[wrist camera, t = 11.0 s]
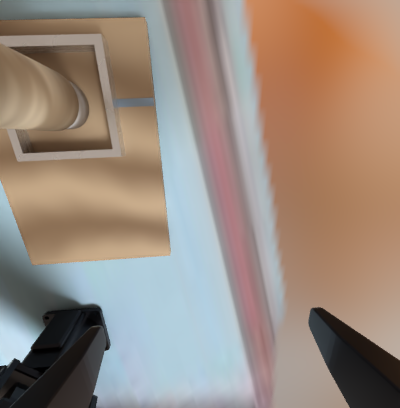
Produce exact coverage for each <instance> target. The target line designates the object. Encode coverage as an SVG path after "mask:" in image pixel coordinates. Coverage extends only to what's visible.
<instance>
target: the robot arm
mask: <svg viewBox="0 0 400 408" xmlns="http://www.w3.org/2000/svg"><path fill="white" fill-rule="evenodd" d="M96 312H97V313H96ZM42 318H43V321H44V323H45V326H46V328H45V329H44V330H43V332H42V333H41V334H40V336H39V337H38V338H37V340H36V341H35V342H34V344H33V345H32V346H31V351H30V352H29V353H28V355H27V356H26V357H25V359H24V360H23V362H22V363H20V361H19V360H17V359H15V358H14V359H13V360H12V362H11V363H10V364H9V365H8V366H6V365H4V366H0V408H96V403H97V396H95V395H93V393H94V389H95V386H96V382H97V378H98V374H99V370H100V366H101V363H102V359H103V355H104V351H106V350H109V348H110V345H111V344H110V340H109V336H108V333H107V329H106V325H105V321H104V318H103V314H102V310H101V309H100V308H88V309H76V310H64V311H51V312H46V313H45V314H44V315H43V317H42ZM309 327H310V330H311V332H312V334H313V336H314V339H315V341H316V343H317V345H318V347H319V350H320V352H321V354H322V356H323V359H324V361H325V363H326V365H327V367H328V369H329V371H330V373H331V375H332V376H333V378H334V380H335V381H336V384H337V385H338V387H339V389H340V391H341V393H342V394H343V396H344V398H345V399H346V402H347V403H348V405H349V407H350V408H400V360H398V359H397V358H395V357H394V356H392V355H391V354H389V353H388V352H386V351H385V350H383V349H382V348H380V347H379V346H378V345H376V344H375V343H373V342H371V341H370V340H369V339H367V338H366V337H364V336H363V335H361V334H360V333H358V332H357V331H355V330H354V329H352V328H351V327H349V326H348V325H347V324H345V323H344V322H342V321H341V320H339V319H338V318H336V317H335V316H333V315H331V314H330V313H329V312H327V311H326V310H324V309H323V308H320V307H317V308H312V309H311V311H310V316H309Z"/></svg>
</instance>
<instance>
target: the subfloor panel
mask: <svg viewBox="0 0 400 408" xmlns="http://www.w3.org/2000/svg"><path fill="white" fill-rule="evenodd" d="M68 34H102V35H103V37H104V38H105V39H106V40H107V41H108V46H109V53H110V59H111V65H112V71H113V78H114V84H115V90H116V96H117V104H118V109H119V115H120V121H121V128H122V134H123V140H124V146H125V153H126V155H125V156H122V157H102V158H82V159H61V160H41V161H21V162H18V161H17V159H16V156H15V153H14V150H13V147H12V144H11V141H10V138H9V135H8V132H7V129H2V128H0V180H1V183H2V185H3V188H4V191H5V193H6V196H7V199H8V201H9V204H10V207H11V209H12V212H13V215H14V217H15V220H16V223H17V225H18V228H19V231H20V233H21V236H22V239H23V241H24V244H25V247H26V249H27V252H28V255H29V257H30V260H31V263H32V265H42V264H56V263H70V262H84V261H98V260H112V259H126V258H140V257H154V256H169V255H170V253H171V249H170V239H169V230H168V220H167V211H166V201H165V192H164V182H163V172H162V163H161V153H160V144H159V134H158V125H157V115H156V105H155V96H154V86H153V77H152V67H151V58H150V48H149V39H148V29H147V22H146V19H145V17H140V18H88V19H36V20H0V36H23V35H68ZM23 55H25V56H27V57H29V58H31V59H33V60H35V61H37V62H39V63H40V64H42V65H44V66H46V67H48V68H50V69H52V70H54V71H56V72H58V73H60V74H61V75H62V76H64V77H65V78H66V79H67V80H68V81H70V82H72V83H74V84H75V85H77V86H78V87H79V88H80V89H81V90H82V91H83V93H84V94H85V96H86V98H87V100H88V103H89V116H88V119H87V121H86V122H85V123H84V124H83V125H82V126H81V127H79V128H77V129H65V130H62V131H41V130H27V131H28V134H29V138H30V141H31V144H32V148H33V151H34V152H54V151H76V150H97V149H113V148H112V142H111V137H110V131H109V125H108V120H107V114H106V109H105V103H104V98H103V92H102V86H101V81H100V75H99V70H98V64H97V59H96V53H95V52H71V53H33V54H23Z"/></svg>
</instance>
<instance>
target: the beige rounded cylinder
mask: <svg viewBox="0 0 400 408" xmlns="http://www.w3.org/2000/svg"><path fill="white" fill-rule="evenodd" d="M88 116H89V103H88V100H87V98H86V96H85V94H84V93H83V91H82V90H81V89H80V88H79V87H78V86H77V85H75V84H74V83H72V82H70V81H68V80H67V79H66V78H65V77H64V76H62V75H61V74H60V73H58V72H56V71H54V70H52V69H50V68H48V67H46V66H44V65H42V64H40V63H39V62H37V61H35V60H33V59H31V58H29V57H27V56H25V55H23V54H21V53H19V52H17V51H15V50H13V49H11V48H9V47H7V46H5V45H3V44H1V43H0V128H2V129H22V130H41V131H62V130H65V129H77V128H79V127H81V126H82V125H83V124H84V123H85V122H86V121H87V119H88Z"/></svg>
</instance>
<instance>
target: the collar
mask: <svg viewBox="0 0 400 408" xmlns="http://www.w3.org/2000/svg"><path fill="white" fill-rule="evenodd" d="M0 43H1V44H3V45H5V46H7V47H9V48H11V49H13V50H15V51H17V52H19V53H21V54H33V53H71V52H95V53H96V59H97V64H98V70H99V75H100V81H101V86H102V92H103V98H104V103H105V109H106V114H107V120H108V125H109V131H110V137H111V142H112V148H113V149H97V150H76V151H54V152H34V151H33V148H32V144H31V141H30V138H29V134H28V131H27V130H22V129H7V132H8V135H9V138H10V141H11V144H12V147H13V150H14V153H15V156H16V159H17V161H18V162H21V161H41V160H61V159H82V158H102V157H122V156H125V155H126V153H125V146H124V140H123V134H122V128H121V121H120V115H119V109H118V104H117V96H116V90H115V84H114V78H113V71H112V65H111V59H110V53H109V46H108V41H107V40H106V39H105V38H104V37H103V35H102V34H68V35H23V36H0Z"/></svg>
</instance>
